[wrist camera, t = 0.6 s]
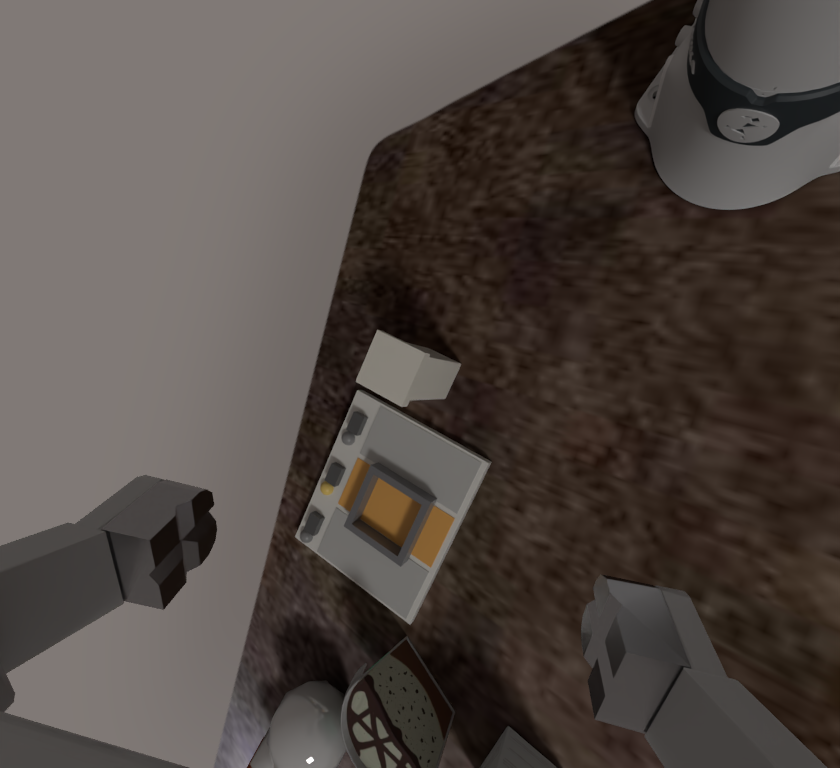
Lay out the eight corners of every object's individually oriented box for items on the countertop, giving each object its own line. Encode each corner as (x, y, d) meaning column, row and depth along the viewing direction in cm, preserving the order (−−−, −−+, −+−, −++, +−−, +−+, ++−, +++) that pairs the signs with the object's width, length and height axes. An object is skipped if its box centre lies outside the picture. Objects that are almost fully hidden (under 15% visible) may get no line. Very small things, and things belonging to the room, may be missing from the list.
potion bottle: (371, 679, 54) (313, 734, 59) (301, 653, 51) (247, 713, 57) (365, 772, 46) (298, 826, 51) (281, 747, 43) (220, 807, 48)
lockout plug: (427, 343, 50) (377, 329, 39) (465, 362, 49) (425, 353, 37) (409, 383, 51) (355, 381, 40) (446, 403, 49) (401, 406, 38)
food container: (364, 648, 53) (314, 702, 44) (399, 623, 51) (355, 675, 42) (423, 747, 50) (383, 828, 41) (463, 725, 48) (431, 804, 39)
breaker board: (362, 389, 54) (348, 389, 51) (491, 461, 47) (484, 466, 44) (301, 534, 57) (284, 541, 54) (414, 619, 50) (402, 633, 47)
